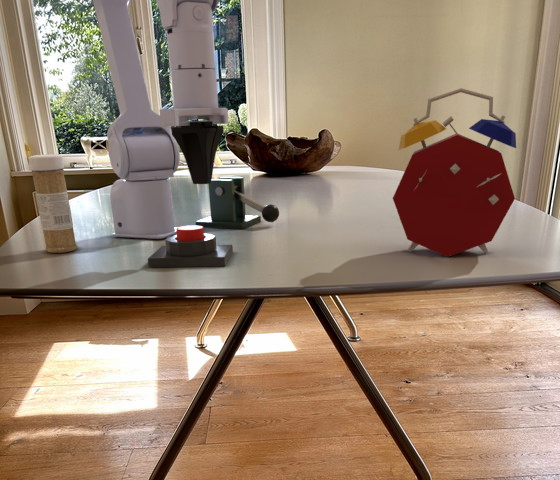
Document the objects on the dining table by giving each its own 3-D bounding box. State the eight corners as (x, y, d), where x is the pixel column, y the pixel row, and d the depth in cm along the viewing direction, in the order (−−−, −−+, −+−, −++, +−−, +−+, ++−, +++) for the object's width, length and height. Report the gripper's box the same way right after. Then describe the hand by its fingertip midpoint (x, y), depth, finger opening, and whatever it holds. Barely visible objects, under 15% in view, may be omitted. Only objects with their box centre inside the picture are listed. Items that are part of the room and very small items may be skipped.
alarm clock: (503, 248, 81) (522, 86, 73) (509, 263, 74) (532, 84, 66) (393, 246, 85) (400, 91, 77) (388, 259, 77) (396, 89, 69)
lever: (278, 223, 104) (284, 208, 103) (271, 226, 102) (277, 210, 100) (221, 192, 106) (226, 176, 105) (213, 194, 104) (218, 178, 102)
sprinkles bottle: (75, 246, 92) (59, 153, 86) (79, 251, 88) (64, 154, 83) (43, 249, 90) (26, 155, 85) (47, 255, 86) (29, 156, 81)
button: (174, 243, 78) (173, 230, 77) (180, 238, 81) (179, 225, 81) (201, 243, 78) (200, 229, 77) (206, 238, 81) (205, 224, 80)
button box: (148, 267, 77) (145, 244, 76) (162, 254, 85) (160, 232, 83) (225, 266, 77) (223, 243, 75) (232, 253, 84) (231, 231, 83)
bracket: (261, 221, 108) (259, 176, 105) (242, 229, 101) (239, 181, 98) (216, 219, 111) (213, 176, 108) (195, 227, 104) (191, 180, 101)
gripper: (192, 65, 67) (202, 190, 73) (246, 71, 80) (251, 178, 85) (139, 68, 70) (153, 189, 75) (199, 74, 82) (207, 178, 87)
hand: (202, 183), depth 80 cm, fingers closed
